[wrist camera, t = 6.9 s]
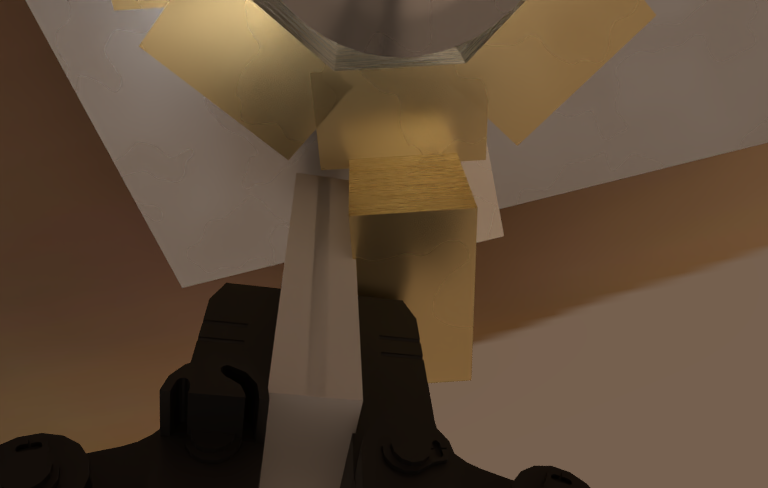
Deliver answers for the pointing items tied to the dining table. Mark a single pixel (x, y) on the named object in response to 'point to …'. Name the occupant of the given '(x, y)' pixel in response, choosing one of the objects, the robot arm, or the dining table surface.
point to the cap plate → (256, 183)
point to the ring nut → (396, 126)
